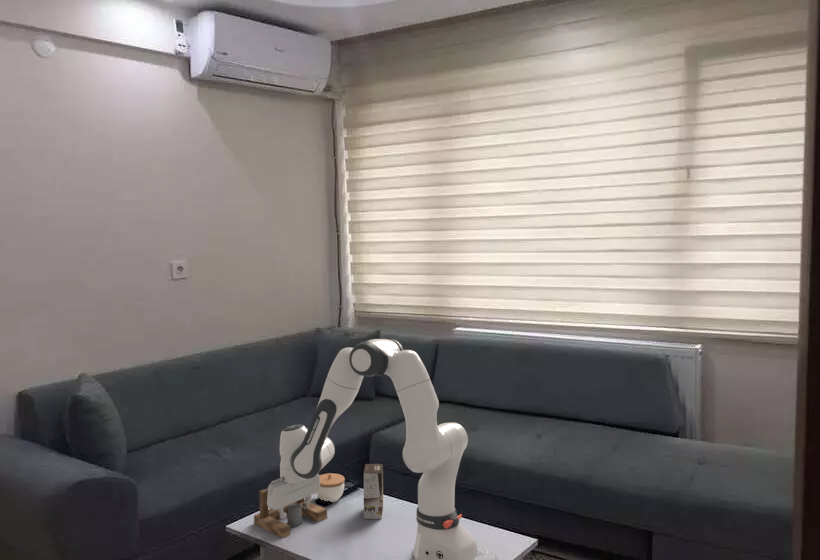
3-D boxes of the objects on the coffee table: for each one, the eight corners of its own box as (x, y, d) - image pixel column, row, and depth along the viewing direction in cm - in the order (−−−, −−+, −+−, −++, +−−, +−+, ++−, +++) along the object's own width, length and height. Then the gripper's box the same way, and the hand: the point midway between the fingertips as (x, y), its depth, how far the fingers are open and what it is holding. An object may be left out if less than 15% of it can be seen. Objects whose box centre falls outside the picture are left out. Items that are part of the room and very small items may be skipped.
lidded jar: (328, 508, 241) (327, 482, 241) (309, 499, 249) (308, 474, 248) (351, 499, 249) (350, 474, 248) (331, 491, 257) (331, 466, 256)
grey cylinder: (304, 523, 230) (304, 506, 229) (293, 528, 226) (293, 510, 226) (295, 519, 233) (295, 502, 232) (284, 524, 229) (284, 506, 229)
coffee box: (382, 519, 233) (382, 473, 231) (363, 519, 233) (362, 473, 231) (383, 507, 242) (383, 463, 240) (365, 507, 242) (365, 463, 241)
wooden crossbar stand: (327, 517, 234) (326, 483, 233) (282, 537, 220) (282, 501, 218) (298, 505, 244) (297, 472, 242) (254, 524, 229) (253, 489, 228)
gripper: (274, 485, 218) (275, 526, 219) (322, 466, 233) (323, 506, 235) (262, 480, 222) (263, 521, 224) (310, 462, 238) (311, 501, 239)
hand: (294, 513), depth 229 cm, fingers open, 8 cm apart
